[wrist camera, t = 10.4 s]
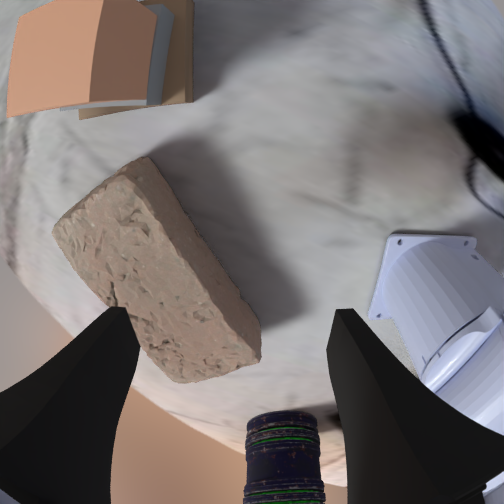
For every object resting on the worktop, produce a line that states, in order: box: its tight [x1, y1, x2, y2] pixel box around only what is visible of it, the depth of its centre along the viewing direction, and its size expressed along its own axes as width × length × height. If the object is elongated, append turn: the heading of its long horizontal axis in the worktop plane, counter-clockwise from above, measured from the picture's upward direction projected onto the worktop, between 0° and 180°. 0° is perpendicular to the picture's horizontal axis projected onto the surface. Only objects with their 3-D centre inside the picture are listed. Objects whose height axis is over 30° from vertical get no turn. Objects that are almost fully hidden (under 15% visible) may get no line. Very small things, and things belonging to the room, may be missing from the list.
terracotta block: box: [7, 0, 157, 118], centre depth 8 cm, size 4×4×5 cm
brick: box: [52, 157, 262, 384], centre depth 19 cm, size 17×8×5 cm, turn 28°
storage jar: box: [243, 411, 326, 504], centre depth 26 cm, size 10×10×15 cm
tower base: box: [79, 0, 194, 120], centre depth 13 cm, size 7×7×2 cm
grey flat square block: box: [60, 4, 175, 111], centre depth 11 cm, size 6×6×2 cm
